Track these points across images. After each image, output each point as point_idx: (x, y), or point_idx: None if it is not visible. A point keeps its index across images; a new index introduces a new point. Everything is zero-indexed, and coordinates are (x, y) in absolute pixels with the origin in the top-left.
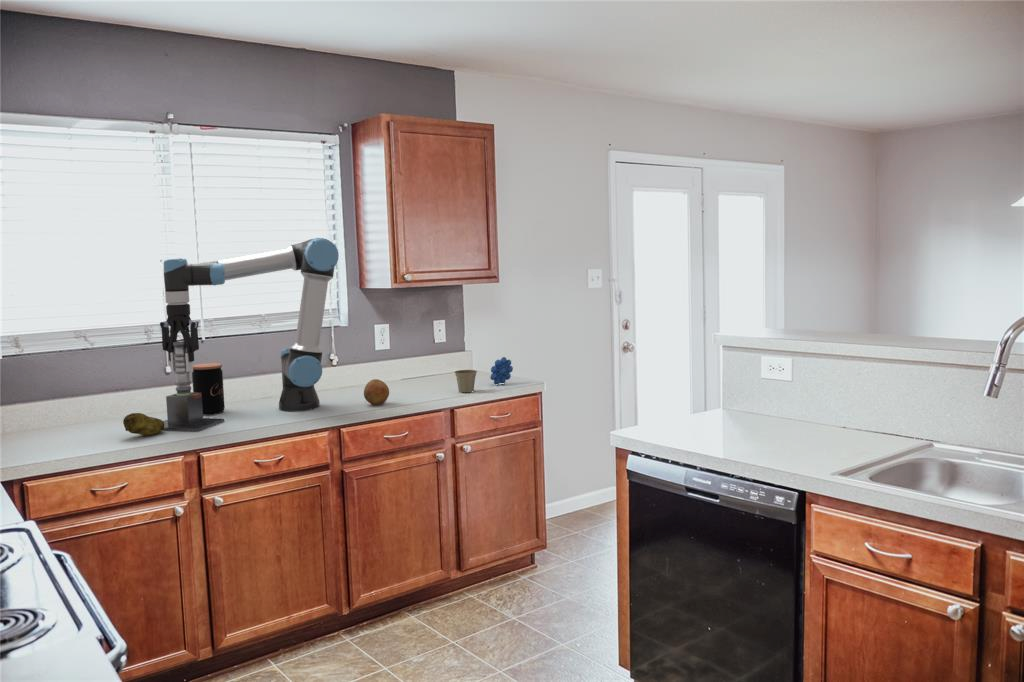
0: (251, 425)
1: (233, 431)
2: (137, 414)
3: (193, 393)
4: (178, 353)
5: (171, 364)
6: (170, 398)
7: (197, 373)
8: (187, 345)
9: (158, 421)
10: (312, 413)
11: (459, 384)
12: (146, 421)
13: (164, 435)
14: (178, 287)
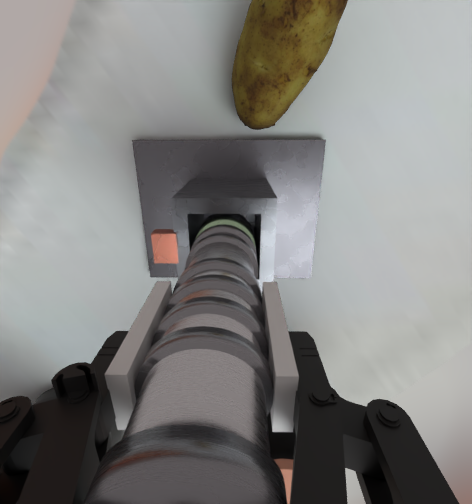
0: (43, 240)
1: (31, 161)
2: None
3: None
4: (185, 353)
5: (280, 308)
6: (254, 196)
7: (289, 442)
8: (52, 457)
9: (241, 83)
10: (3, 374)
11: None
12: (253, 11)
13: (208, 68)
14: None
